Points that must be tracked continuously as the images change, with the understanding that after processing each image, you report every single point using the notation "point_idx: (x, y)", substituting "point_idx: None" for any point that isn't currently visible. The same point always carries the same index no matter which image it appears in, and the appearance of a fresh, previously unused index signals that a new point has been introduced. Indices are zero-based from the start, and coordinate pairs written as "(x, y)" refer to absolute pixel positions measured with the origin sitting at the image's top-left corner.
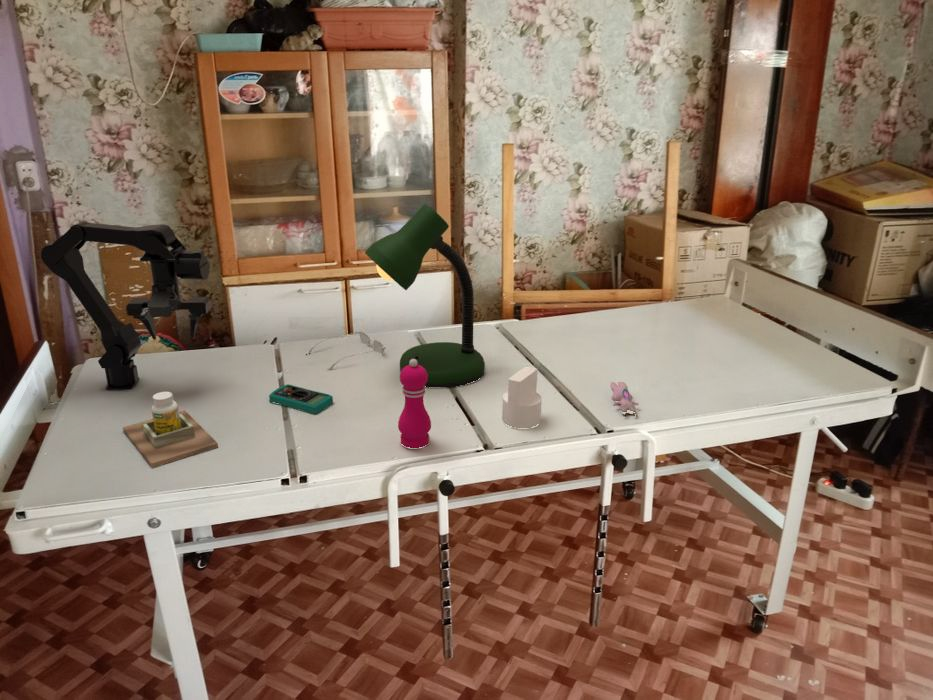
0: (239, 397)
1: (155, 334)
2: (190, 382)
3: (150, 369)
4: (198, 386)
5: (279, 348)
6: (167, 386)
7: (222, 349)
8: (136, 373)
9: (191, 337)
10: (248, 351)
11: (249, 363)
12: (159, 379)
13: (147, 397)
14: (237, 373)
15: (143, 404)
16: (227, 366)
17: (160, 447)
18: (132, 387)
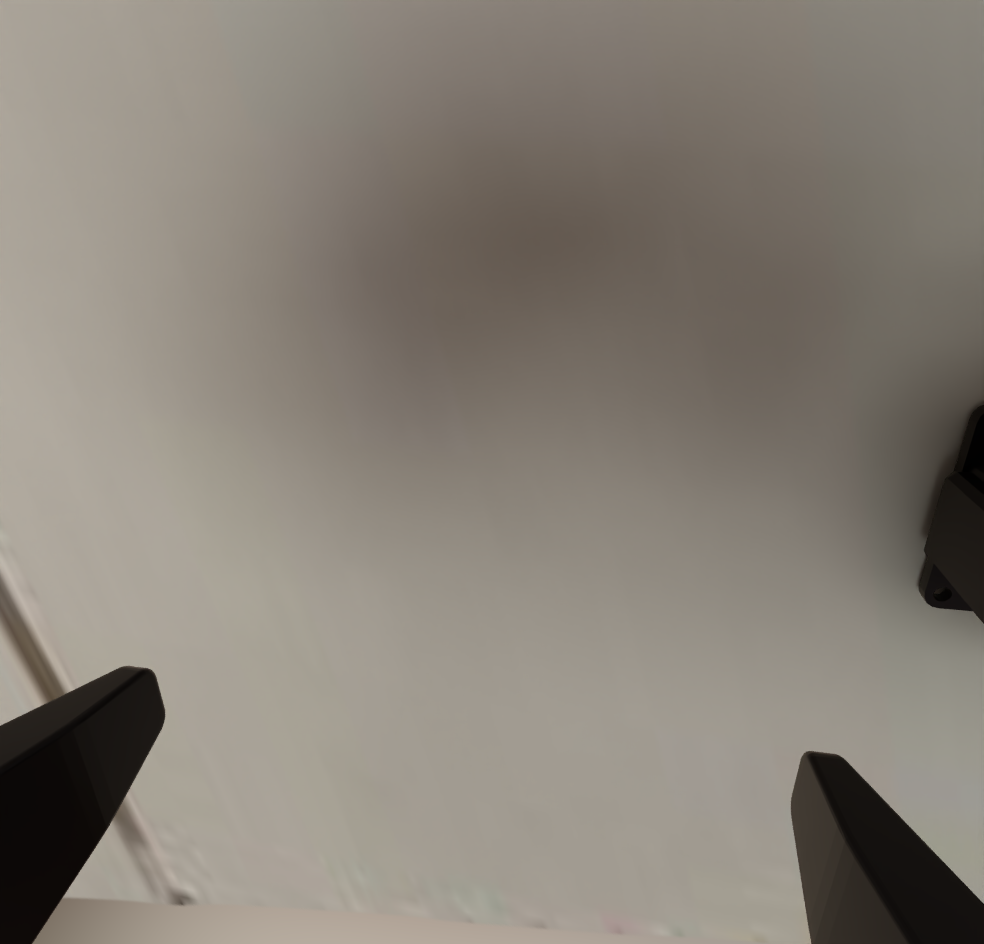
0: (37, 165)
1: (813, 875)
2: (492, 482)
3: (844, 737)
4: (412, 404)
5: (128, 848)
6: (657, 431)
7: (428, 903)
8: (964, 561)
9: (127, 681)
10: (274, 850)
11: (206, 706)
12: (747, 566)
13: (800, 213)
14: (220, 582)
15: (819, 37)
16: (321, 690)
17: None
18: (968, 426)
